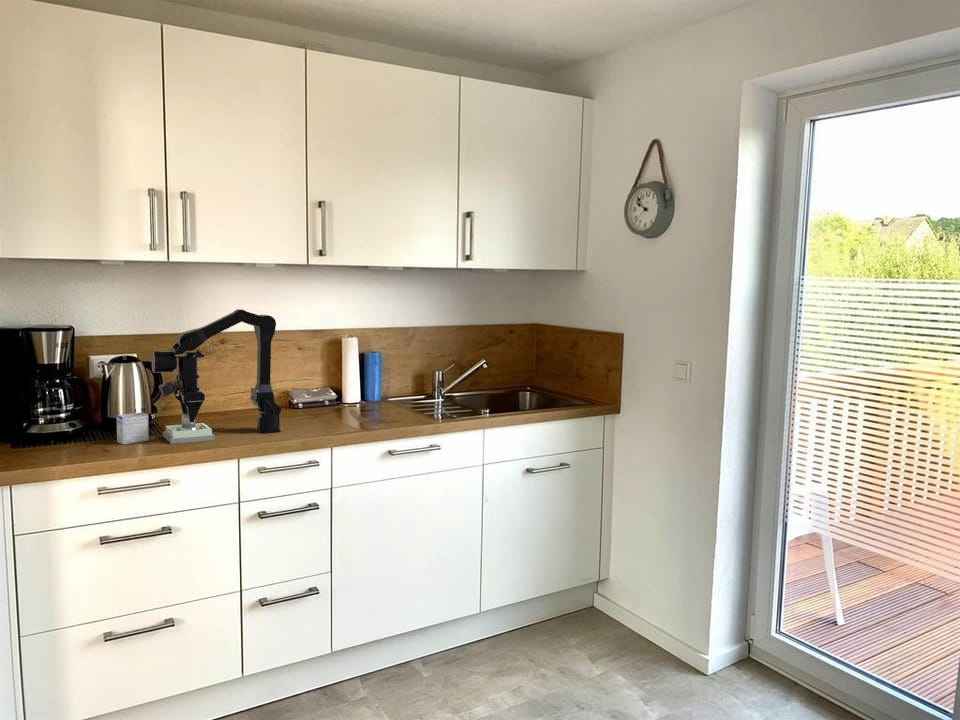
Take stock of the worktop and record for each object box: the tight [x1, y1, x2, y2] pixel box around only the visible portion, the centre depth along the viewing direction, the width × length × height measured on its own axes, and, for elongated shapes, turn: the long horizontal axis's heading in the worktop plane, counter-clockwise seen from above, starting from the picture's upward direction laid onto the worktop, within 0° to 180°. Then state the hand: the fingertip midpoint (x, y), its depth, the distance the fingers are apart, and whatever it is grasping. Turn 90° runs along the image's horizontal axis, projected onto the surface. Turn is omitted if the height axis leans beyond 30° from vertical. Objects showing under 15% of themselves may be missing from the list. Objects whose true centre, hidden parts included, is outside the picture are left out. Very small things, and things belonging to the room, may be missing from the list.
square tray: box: [162, 422, 216, 445], centre depth 226 cm, size 13×13×4 cm
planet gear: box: [176, 413, 201, 431], centre depth 226 cm, size 7×7×6 cm
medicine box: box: [116, 412, 149, 445], centre depth 219 cm, size 8×4×9 cm, turn 141°
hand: (188, 419), depth 226 cm, fingers open, 9 cm apart
